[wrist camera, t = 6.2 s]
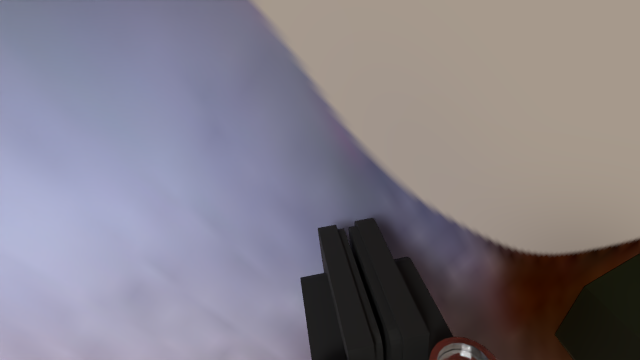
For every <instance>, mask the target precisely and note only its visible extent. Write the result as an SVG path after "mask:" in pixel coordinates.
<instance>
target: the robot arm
mask: <svg viewBox="0 0 640 360" xmlns="http://www.w3.org/2000/svg"><path fill="white" fill-rule="evenodd" d="M318 234H319V241H320V248H321V254H322V261H323V268H324V273H322V274H317V275H312V276H307V277H301V286H302V293H303V300H304V307H305V314H306V321H307V328H308V336H309V343H310V350H311V357H312V360H497V359H496V357H495V356H494V355H493V354H492V353H491V352H490V351H489V350H488V349H487V348H486V347H484V346H483V345H481V344H479V343H478V342H476V341H474V340H471V339H468V338H465V337H453V335H452V333H451V332H450V330H449V328H448V326H447V324H446V322H445V321H444V319H443V317H442V315H441V313H440V311H439V310H438V308H437V306H436V304H435V302H434V300H433V299H432V297H431V295H430V293H429V291H428V289H427V288H426V286H425V284H424V282H423V280H422V278H421V277H420V275H419V273H418V271H417V269H416V268H415V266H414V264H413V262H412V261H411V259H410V258H409V257H404V258H399V259H393V257H392V255H391V253H390V251H389V249H388V247H387V244H386V242H385V240H384V238H383V236H382V234H381V232H380V230H379V228H378V226H377V224H376V222H375V220H374V218H370V219H364V220H359V221H355V226H353V227H349V237H350V245H349V242H348V239H347V236H346V233H345V230H344V228H343V229H337V227H336V225H332V226H327V227H321V228H318Z"/></svg>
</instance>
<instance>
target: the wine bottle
mask: <svg viewBox="0 0 640 360" xmlns="http://www.w3.org/2000/svg"><path fill="white" fill-rule="evenodd" d="M555 336H556V337H557V338H558V340H559V341H560V342H561V344H562V345H563V346H564V348H565V349H566V350H567V352H568V353H569V355H570V356H571V357H572V359H573V360H640V254H639V255H637V256H635V257H634V258H632V259H630V260H628V261H627V262H625V263H623V264H622V265H620V266H618V267H617V268H615V269H613V270H612V271H610V272H608V273H606V274H605V275H603V276H601V277H600V278H598V279H596V280H595V281H593V282H591V283H590V284H588V285H586V286H585V287H584V288H583V290H582V291H581V293H580V295H579V296H578V298H577V299H576V301H575V303H574V304H573V306H572V308H571V309H570V311H569V312H568V314H567V316H566V317H565V319H564V320H563V322H562V324H561V325H560V327H559V329H558V330H557V332H556V333H555Z"/></svg>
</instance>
